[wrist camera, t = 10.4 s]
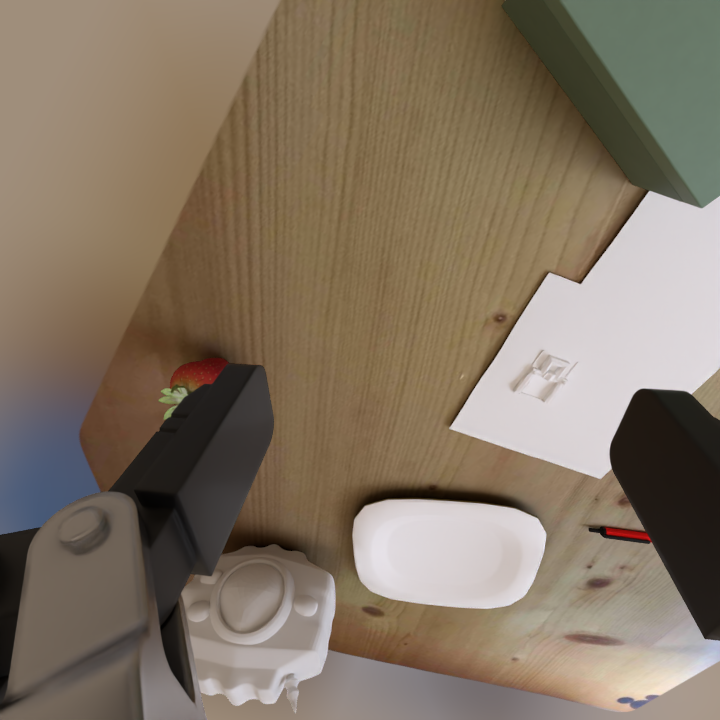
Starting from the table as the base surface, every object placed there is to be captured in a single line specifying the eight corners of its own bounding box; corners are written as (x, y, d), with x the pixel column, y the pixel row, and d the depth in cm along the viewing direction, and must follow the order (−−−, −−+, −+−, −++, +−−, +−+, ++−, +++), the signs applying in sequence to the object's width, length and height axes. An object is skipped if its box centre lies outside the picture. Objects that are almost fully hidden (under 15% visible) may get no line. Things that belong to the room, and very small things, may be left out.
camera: (343, 579, 54) (319, 732, 41) (220, 565, 56) (160, 707, 43) (340, 533, 48) (311, 694, 35) (203, 518, 50) (126, 666, 37)
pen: (589, 523, 42) (593, 533, 41) (777, 548, 41) (786, 558, 40) (586, 528, 42) (590, 537, 42) (772, 552, 41) (780, 563, 40)
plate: (349, 483, 43) (347, 496, 42) (555, 496, 40) (560, 510, 39) (359, 585, 55) (357, 598, 53) (519, 601, 52) (522, 615, 50)
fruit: (209, 327, 34) (158, 380, 27) (262, 359, 35) (226, 418, 28) (188, 364, 36) (138, 421, 30) (239, 393, 38) (201, 454, 31)
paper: (610, 480, 38) (615, 489, 37) (445, 433, 37) (446, 441, 36) (858, 231, 24) (875, 236, 23) (603, 148, 23) (611, 149, 22)
